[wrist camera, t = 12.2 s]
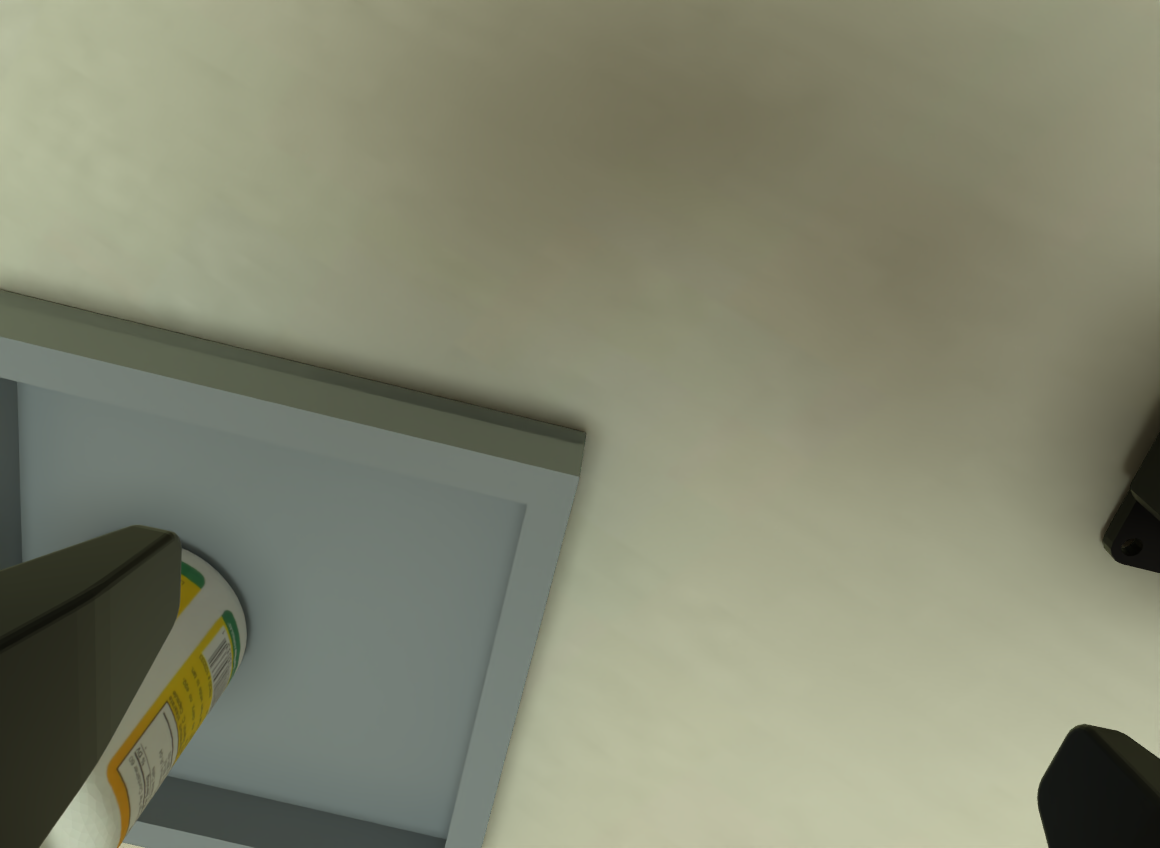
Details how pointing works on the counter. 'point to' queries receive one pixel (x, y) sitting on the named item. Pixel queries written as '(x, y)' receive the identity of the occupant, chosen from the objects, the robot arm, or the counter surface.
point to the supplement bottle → (160, 712)
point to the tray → (302, 567)
